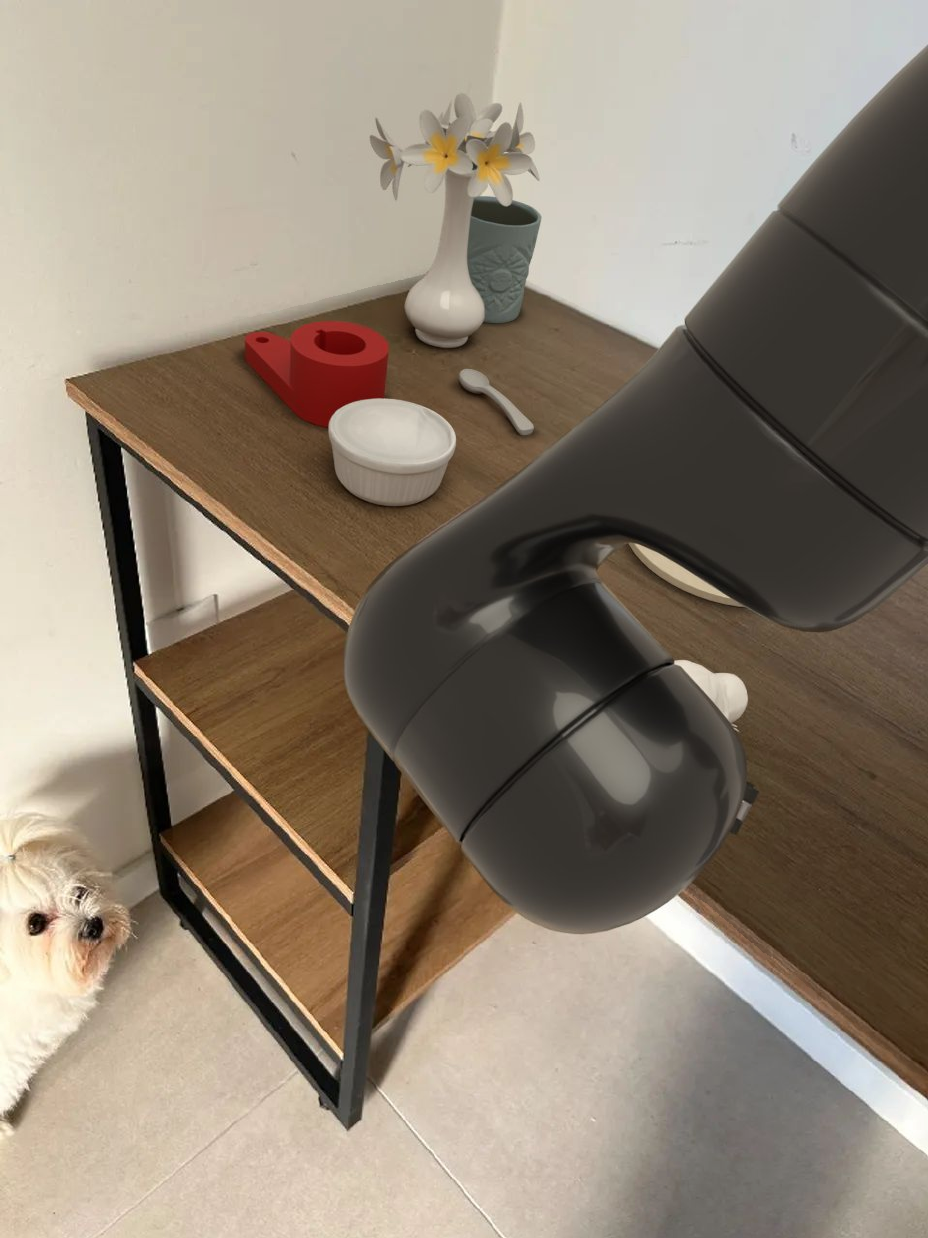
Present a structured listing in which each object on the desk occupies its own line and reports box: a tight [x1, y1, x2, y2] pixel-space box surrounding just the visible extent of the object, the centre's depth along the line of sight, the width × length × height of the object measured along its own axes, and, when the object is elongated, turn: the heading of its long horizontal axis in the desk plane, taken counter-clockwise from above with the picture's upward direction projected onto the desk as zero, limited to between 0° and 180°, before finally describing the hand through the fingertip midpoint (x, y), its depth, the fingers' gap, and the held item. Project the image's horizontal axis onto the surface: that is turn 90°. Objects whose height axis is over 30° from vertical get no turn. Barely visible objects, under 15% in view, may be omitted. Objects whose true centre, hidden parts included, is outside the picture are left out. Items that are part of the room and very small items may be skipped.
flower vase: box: [369, 92, 541, 349], centre depth 100 cm, size 13×18×25 cm
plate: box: [627, 543, 745, 608], centre depth 85 cm, size 18×18×1 cm
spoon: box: [458, 368, 535, 436], centre depth 98 cm, size 3×12×2 cm, turn 34°
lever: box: [244, 320, 390, 429], centre depth 94 cm, size 18×9×7 cm, turn 49°
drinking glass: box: [467, 195, 542, 324], centre depth 113 cm, size 10×10×12 cm
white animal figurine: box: [674, 659, 749, 733], centre depth 63 cm, size 6×8×12 cm
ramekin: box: [328, 398, 457, 507], centre depth 84 cm, size 11×11×5 cm
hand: (648, 755), depth 55 cm, fingers closed
